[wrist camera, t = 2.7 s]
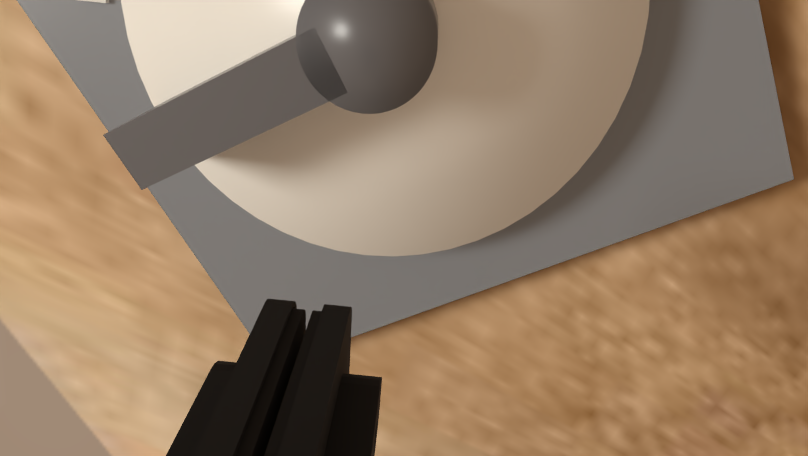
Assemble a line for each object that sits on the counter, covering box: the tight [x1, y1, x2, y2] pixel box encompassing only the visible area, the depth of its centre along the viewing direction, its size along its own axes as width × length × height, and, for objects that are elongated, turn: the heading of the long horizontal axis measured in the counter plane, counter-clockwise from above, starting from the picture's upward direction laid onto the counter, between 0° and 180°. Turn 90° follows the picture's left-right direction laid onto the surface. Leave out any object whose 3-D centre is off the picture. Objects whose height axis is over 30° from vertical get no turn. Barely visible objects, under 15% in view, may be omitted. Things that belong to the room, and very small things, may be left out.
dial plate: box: [17, 0, 794, 337], centre depth 20 cm, size 22×22×2 cm
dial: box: [104, 0, 650, 256], centre depth 17 cm, size 16×16×5 cm
